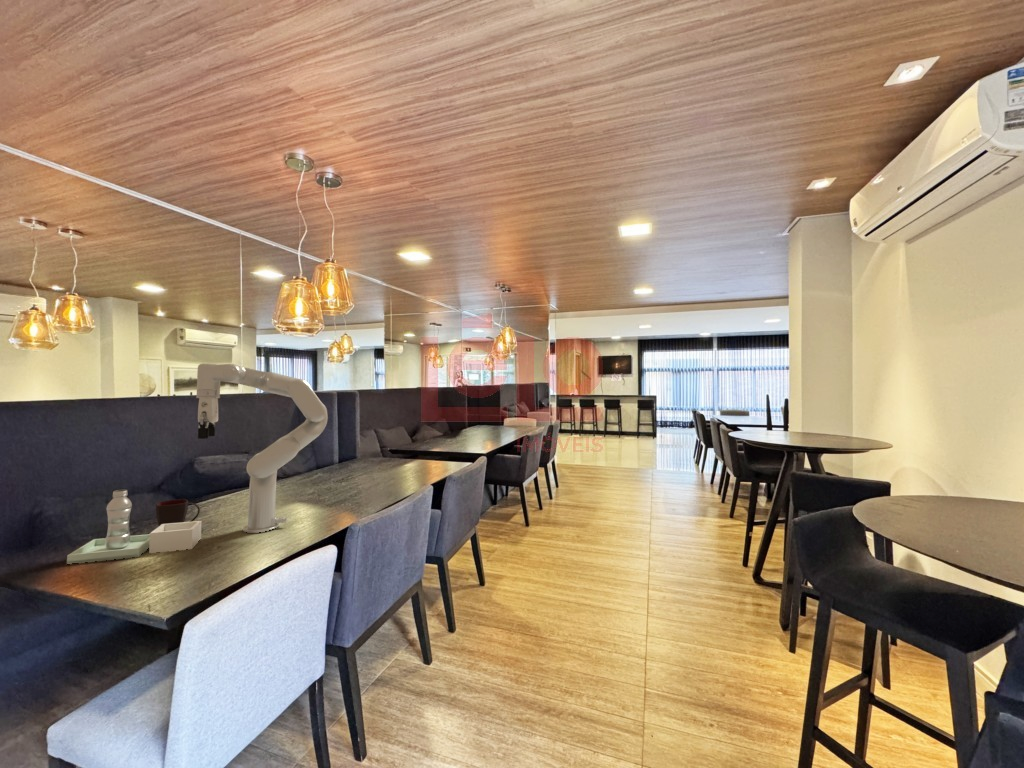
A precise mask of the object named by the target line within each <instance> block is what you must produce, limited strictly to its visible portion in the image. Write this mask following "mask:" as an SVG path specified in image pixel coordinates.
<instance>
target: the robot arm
mask: <svg viewBox="0 0 1024 768" xmlns="http://www.w3.org/2000/svg"><path fill="white" fill-rule="evenodd" d="M196 373H197V374H196V375H197V377H196V378H197V379H196V396H195V398H196V399H199V400H198V408H197V422H198V428H197V429H198V430H197V439H199V440H201V439H209V437H215V436H216V423H217V422H218V421H219V399H220V398H221V382H225V383H233V384H238V385H241V386H242V385H243V386H247V387H251V388H255V389H258V390H260V391H263V392H264V393H265V392H267V393H270V394H276V395H279V396H283V397H288V398H291V399H292V400H293V402H294V404H295V405H296V407H297V408H298V409H299V411H300V412H301V413H302V415H303V416H304V417H305V421H304V422H302V423H301V424H300V425H298V426H297V427H295V429H293V430H291V431H290V432H289V433H287V434H285V435H284V436H281V437H280V438H278V439H277V440H276V441H275V442H273V443H271V444H270V445H268V446H267V447H266V448H264V449H262V451H260V452H258V453H256V454H255V455H254V456H253V457H251V458H250V459H249V460H248V462H247V464H246V472H247V474H248V476H249V488H248V489H249V490H248V491H249V492H248V511H247V513H248V514H247V525H244V526H243V528H242V531H243V532H244V533H246V532H247V534H258V533H259V532H261V533H265V531H267V532H270V531H269V530H271V531H273V530H272V529H274V530H276V529H278V528H277V527H279V524H283V523H284V524H285V523H287V519H288V517H284V516H283V517H279V516H278V517H277V514H276V495H277V491H276V490H277V477H278V476H277V475H278V470H279V469H280V468H282V467H283V466H284V465H286V464H287V463H289V462H290V461H291V460H293V459H294V458H295V457H296V456H297V455H298V453H299V452H300V451H301V450H303V449H304V448H305V447H306V446H308V445H309V444H310V443H311V442H313V441H315V439H317V438H318V437H320V435H321V434H322V433H323V432H324V430H325V428H326V427H327V424H328V419H329V417H328V409H327V406H326V405H325V404H324V403H323V402H322V401H321V400H320V398H319V397H318V396H317V394H316V393H315V391H314V390H313V388H312V387H311V384H310V382H308V381H307V380H305V379H303V378H297V377H292V376H289V375H285V374H280V373H276V372H271V371H262V370H258V369H255V368H254V369H253V368H248V367H244V366H241V365H238V364H234V363H220V364H217V363H205V362H204V363H199V364H198V366H197V372H196ZM275 528H276V529H275ZM259 534H260V533H259Z"/></svg>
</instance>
